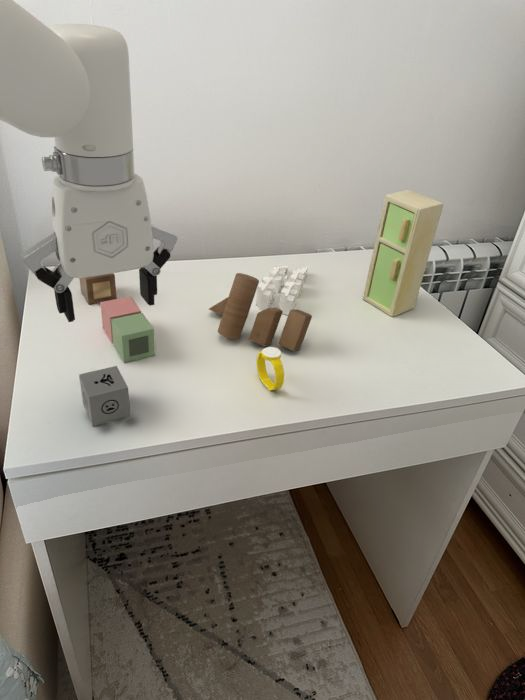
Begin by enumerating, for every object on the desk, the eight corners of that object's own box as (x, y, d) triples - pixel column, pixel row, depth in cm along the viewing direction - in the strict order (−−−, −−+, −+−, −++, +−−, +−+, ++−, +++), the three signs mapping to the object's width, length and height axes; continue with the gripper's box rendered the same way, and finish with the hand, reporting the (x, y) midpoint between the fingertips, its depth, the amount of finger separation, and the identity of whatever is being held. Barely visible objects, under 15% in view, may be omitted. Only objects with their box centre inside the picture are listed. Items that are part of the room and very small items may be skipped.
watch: (286, 394, 79) (291, 362, 75) (270, 398, 77) (274, 366, 74) (266, 370, 83) (270, 339, 79) (251, 375, 82) (254, 343, 78)
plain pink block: (112, 344, 85) (110, 317, 82) (102, 328, 88) (100, 301, 85) (142, 337, 87) (141, 311, 84) (132, 321, 91) (130, 296, 88)
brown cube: (88, 305, 94) (86, 279, 91) (80, 291, 97) (77, 266, 94) (116, 299, 96) (115, 274, 93) (108, 286, 99) (106, 262, 96)
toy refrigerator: (358, 299, 104) (382, 194, 92) (383, 291, 108) (409, 188, 96) (389, 318, 99) (418, 210, 87) (414, 309, 103) (445, 203, 91)
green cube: (124, 363, 81) (122, 336, 78) (113, 345, 85) (111, 319, 82) (155, 355, 83) (154, 329, 80) (143, 338, 87) (142, 312, 84)
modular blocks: (290, 316, 97) (293, 297, 94) (254, 307, 98) (256, 289, 96) (310, 270, 113) (313, 253, 110) (279, 263, 114) (281, 246, 111)
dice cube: (130, 416, 72) (128, 387, 69) (92, 426, 70) (88, 397, 67) (118, 393, 75) (116, 365, 72) (82, 403, 73) (79, 374, 70)
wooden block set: (300, 357, 91) (322, 300, 88) (281, 363, 83) (303, 301, 80) (214, 317, 97) (231, 263, 94) (188, 320, 89) (206, 261, 86)
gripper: (13, 185, 48) (41, 340, 58) (189, 170, 56) (187, 308, 66) (-1, 160, 53) (27, 307, 63) (162, 150, 61) (164, 281, 71)
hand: (109, 307), depth 65 cm, fingers open, 9 cm apart
